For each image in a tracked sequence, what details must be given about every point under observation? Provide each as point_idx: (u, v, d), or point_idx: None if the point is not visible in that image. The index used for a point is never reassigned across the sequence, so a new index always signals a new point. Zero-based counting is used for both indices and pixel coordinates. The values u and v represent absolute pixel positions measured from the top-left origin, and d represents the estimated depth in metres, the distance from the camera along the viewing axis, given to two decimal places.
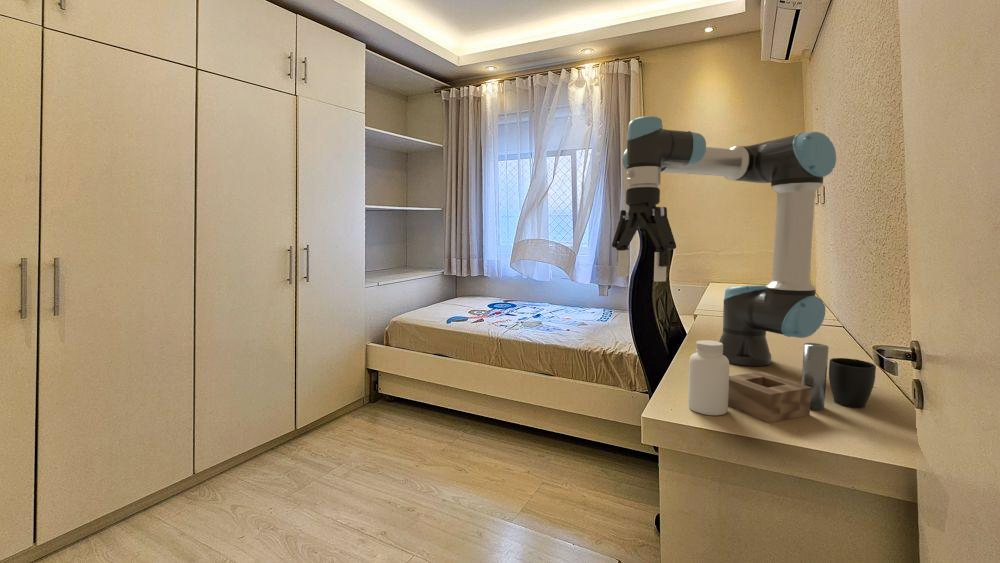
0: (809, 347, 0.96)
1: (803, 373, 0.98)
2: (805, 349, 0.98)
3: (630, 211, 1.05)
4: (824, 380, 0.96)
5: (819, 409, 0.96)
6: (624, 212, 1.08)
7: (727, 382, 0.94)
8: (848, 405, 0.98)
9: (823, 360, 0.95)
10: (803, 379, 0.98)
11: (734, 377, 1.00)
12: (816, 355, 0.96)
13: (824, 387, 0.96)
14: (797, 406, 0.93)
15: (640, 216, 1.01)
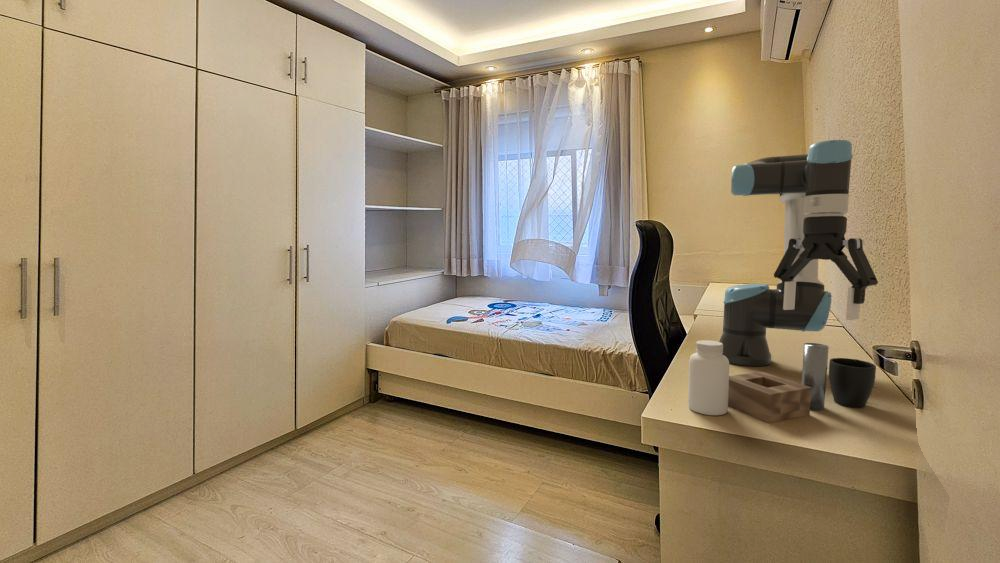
0: (809, 347, 0.96)
1: (803, 373, 0.98)
2: (805, 349, 0.98)
3: (806, 240, 0.97)
4: (824, 380, 0.96)
5: (819, 409, 0.96)
6: (795, 241, 1.00)
7: (727, 382, 0.94)
8: (848, 405, 0.98)
9: (823, 360, 0.95)
10: (803, 379, 0.98)
11: (734, 377, 1.00)
12: (816, 355, 0.96)
13: (824, 387, 0.96)
14: (797, 406, 0.93)
15: (825, 247, 0.93)
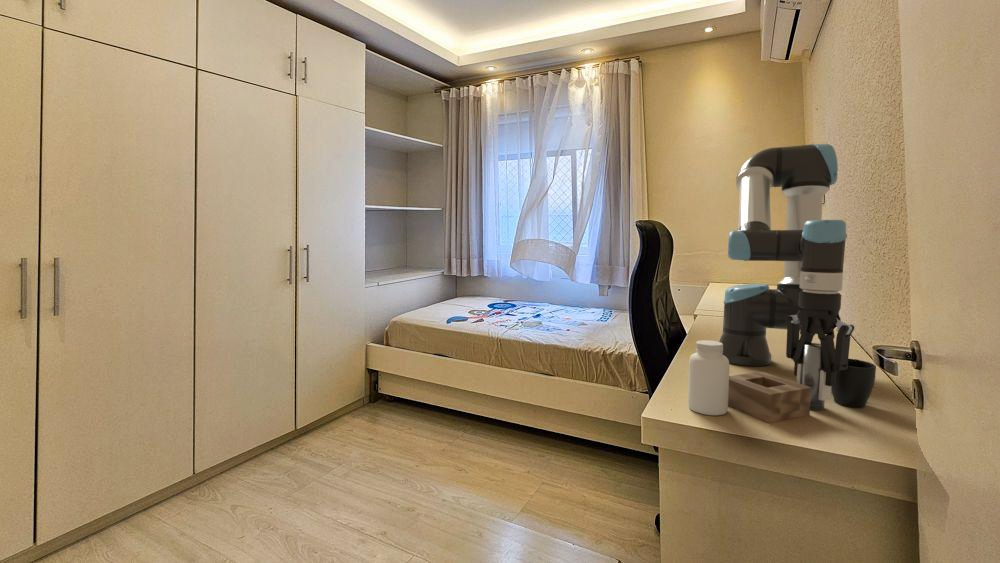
0: (809, 347, 0.96)
1: (803, 373, 0.98)
2: (805, 349, 0.98)
3: (800, 313, 0.99)
4: None
5: (819, 409, 0.96)
6: (790, 317, 1.02)
7: (727, 382, 0.94)
8: (848, 405, 0.98)
9: None
10: (803, 379, 0.98)
11: (734, 377, 1.00)
12: (816, 355, 0.96)
13: None
14: (797, 406, 0.93)
15: (819, 325, 0.95)
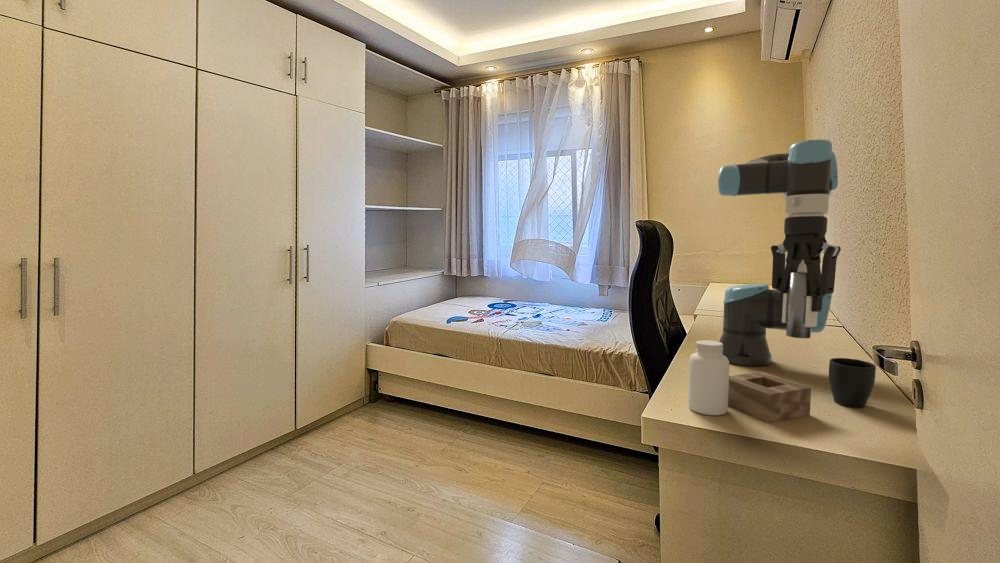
0: (795, 273, 0.94)
1: (789, 301, 0.96)
2: (791, 276, 0.95)
3: (786, 241, 0.97)
4: None
5: (805, 337, 0.94)
6: (776, 247, 0.99)
7: (727, 382, 0.94)
8: (848, 405, 0.98)
9: None
10: (789, 307, 0.96)
11: (734, 377, 1.00)
12: (802, 280, 0.93)
13: None
14: (797, 406, 0.93)
15: (805, 249, 0.92)
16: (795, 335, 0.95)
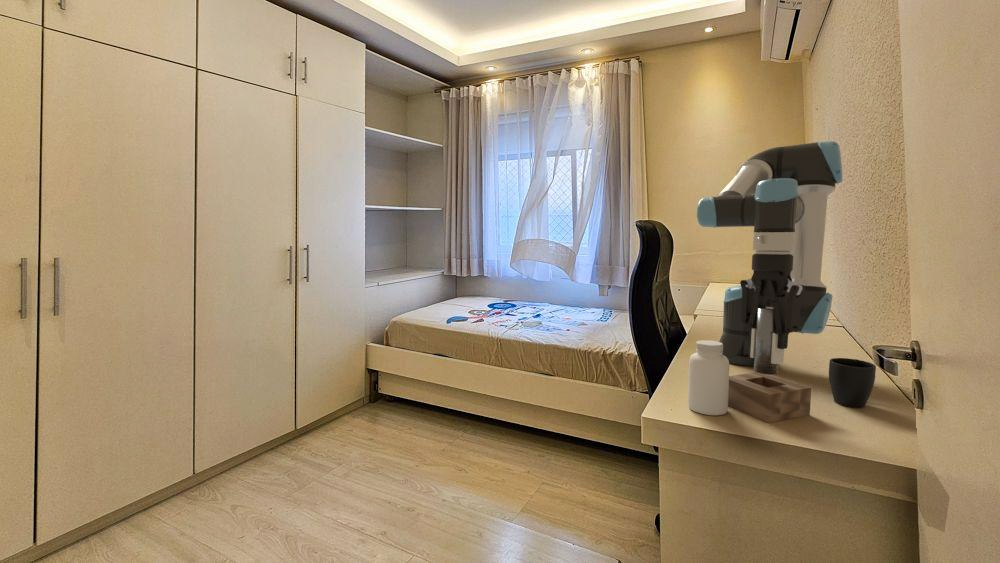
0: (762, 310, 0.95)
1: (757, 337, 0.96)
2: (758, 312, 0.96)
3: (754, 276, 0.97)
4: None
5: (772, 373, 0.95)
6: (745, 281, 1.00)
7: (727, 382, 0.94)
8: (848, 405, 0.98)
9: None
10: (756, 343, 0.96)
11: (734, 377, 1.00)
12: (768, 317, 0.94)
13: None
14: (797, 406, 0.93)
15: (771, 286, 0.93)
16: (762, 371, 0.95)
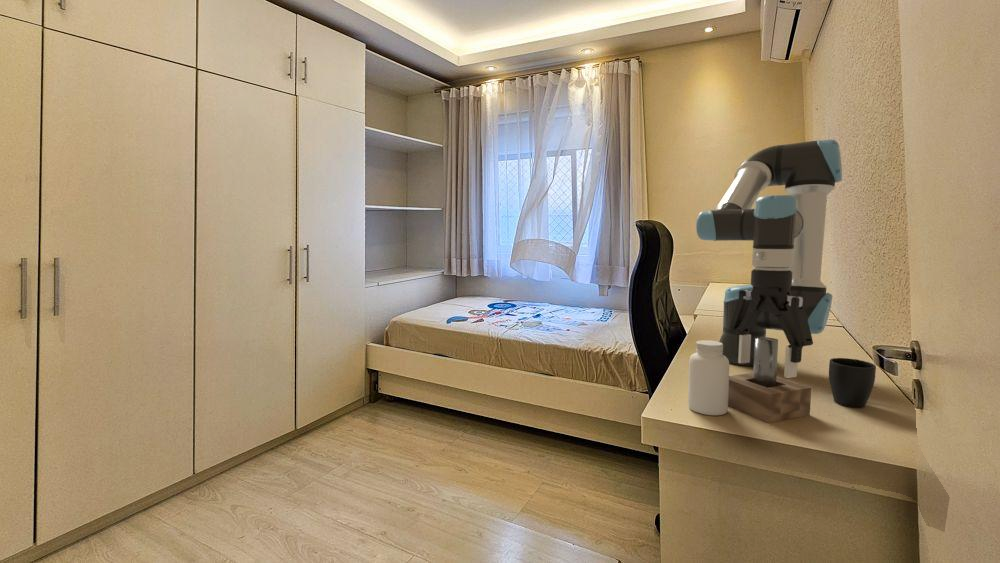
0: (759, 341, 0.96)
1: (754, 367, 0.97)
2: (755, 343, 0.97)
3: (754, 292, 0.98)
4: (774, 374, 0.95)
5: None
6: (744, 292, 1.00)
7: (727, 382, 0.94)
8: (848, 405, 0.98)
9: (773, 353, 0.95)
10: (754, 373, 0.97)
11: (734, 377, 1.00)
12: (765, 348, 0.95)
13: (774, 381, 0.95)
14: (797, 406, 0.93)
15: (771, 302, 0.93)
16: None
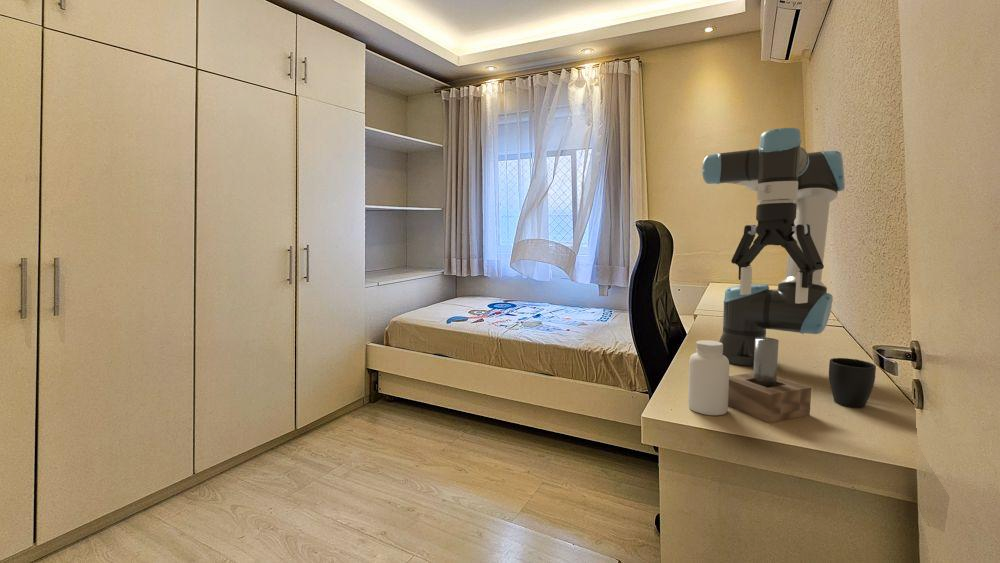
0: (759, 341, 0.96)
1: (754, 368, 0.97)
2: (756, 343, 0.97)
3: (759, 227, 1.00)
4: (774, 374, 0.95)
5: None
6: (749, 227, 1.02)
7: (727, 382, 0.94)
8: (848, 405, 0.98)
9: (773, 354, 0.94)
10: (754, 374, 0.97)
11: (734, 377, 1.00)
12: (765, 349, 0.95)
13: (774, 381, 0.95)
14: (797, 406, 0.93)
15: (776, 233, 0.95)
16: None
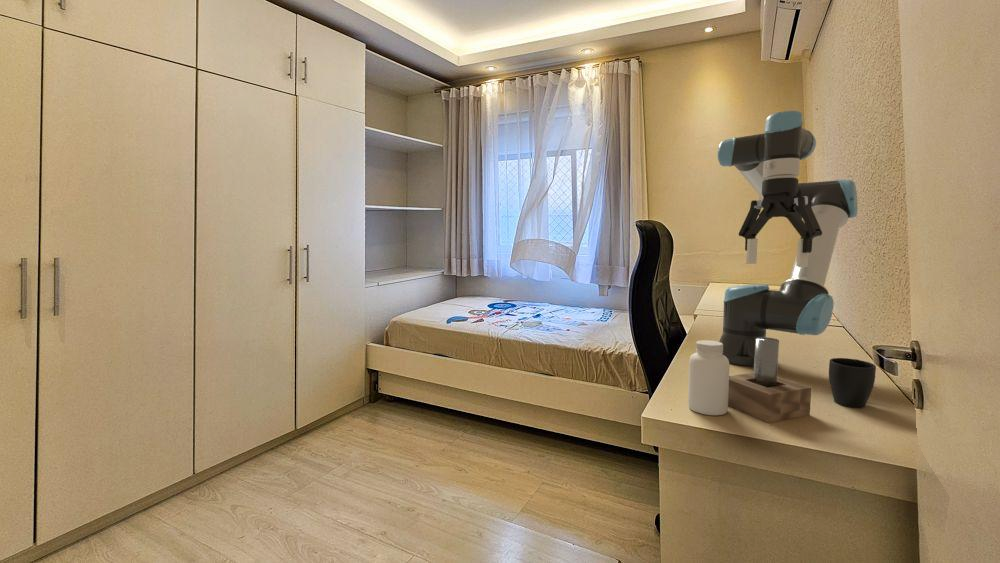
0: (760, 341, 0.96)
1: (755, 368, 0.97)
2: (756, 343, 0.97)
3: (764, 201, 1.11)
4: (775, 374, 0.95)
5: None
6: (755, 202, 1.13)
7: (727, 382, 0.94)
8: (848, 405, 0.98)
9: (773, 354, 0.94)
10: (754, 373, 0.97)
11: (734, 377, 1.00)
12: (766, 349, 0.95)
13: (775, 381, 0.95)
14: (797, 406, 0.93)
15: (780, 205, 1.06)
16: None
